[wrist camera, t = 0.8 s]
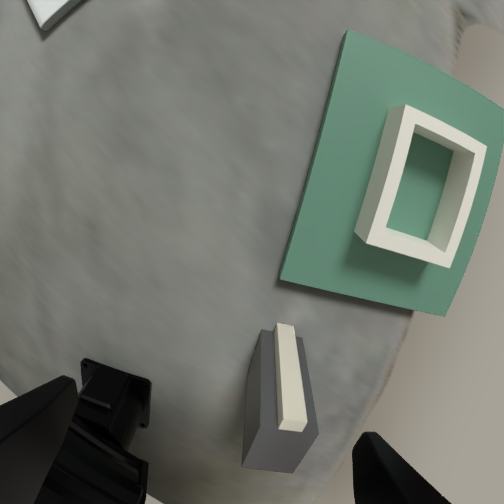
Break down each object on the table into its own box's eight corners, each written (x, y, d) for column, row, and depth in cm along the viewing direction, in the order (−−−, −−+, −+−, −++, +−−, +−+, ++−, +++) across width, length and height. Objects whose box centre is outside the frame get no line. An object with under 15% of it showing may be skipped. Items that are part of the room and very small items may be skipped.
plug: (285, 378, 24) (292, 473, 15) (248, 371, 24) (241, 467, 15) (305, 328, 22) (324, 423, 14) (264, 320, 22) (264, 415, 14)
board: (439, 310, 22) (460, 333, 18) (279, 273, 21) (281, 297, 18) (500, 112, 16) (530, 112, 13) (343, 34, 16) (358, 15, 13)
